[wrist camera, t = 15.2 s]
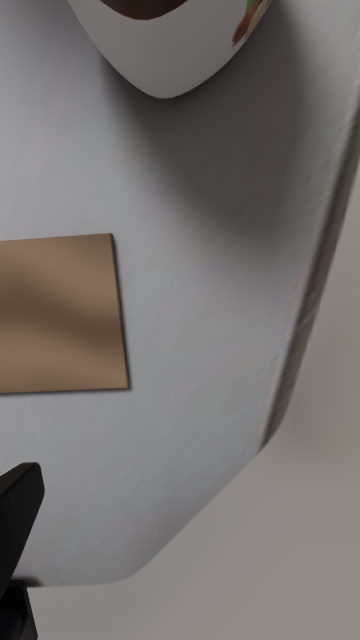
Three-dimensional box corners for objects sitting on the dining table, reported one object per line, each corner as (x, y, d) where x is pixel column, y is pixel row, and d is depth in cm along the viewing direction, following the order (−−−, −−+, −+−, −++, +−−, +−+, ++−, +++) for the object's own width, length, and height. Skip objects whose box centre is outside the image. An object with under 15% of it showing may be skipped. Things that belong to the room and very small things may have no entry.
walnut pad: (128, 384, 20) (127, 387, 20) (-11, 390, 21) (-16, 393, 20) (112, 233, 18) (109, 233, 17) (-44, 244, 19) (-50, 244, 18)
